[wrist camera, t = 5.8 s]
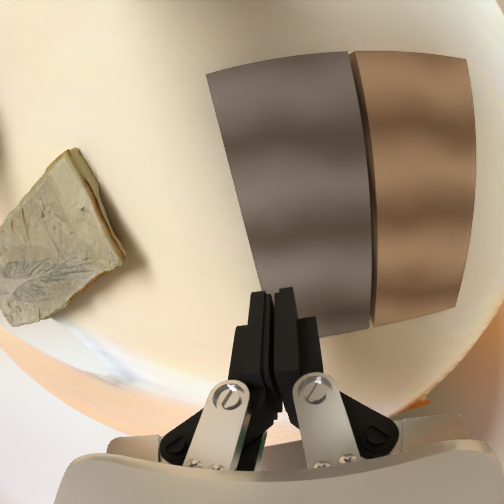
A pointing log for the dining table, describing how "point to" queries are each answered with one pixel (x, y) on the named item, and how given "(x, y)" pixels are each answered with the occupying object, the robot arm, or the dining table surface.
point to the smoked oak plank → (302, 181)
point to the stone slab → (55, 243)
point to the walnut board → (416, 178)
